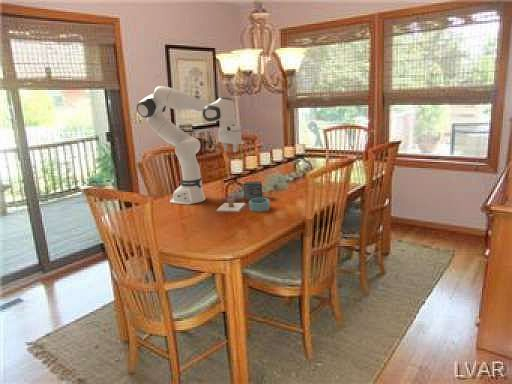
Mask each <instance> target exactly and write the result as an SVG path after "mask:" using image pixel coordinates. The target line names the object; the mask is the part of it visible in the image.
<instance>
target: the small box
mask: <svg viewBox="0 0 512 384" xmlns="http://www.w3.org/2000/svg"><path fill="white" fill-rule="evenodd" d="M243 189H244V201H250V200H251V199H254V198H264V197H263V185H262V181H261V180H260V181H245V182H244V183H243Z"/></svg>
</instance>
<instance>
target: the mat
mask: <svg viewBox="0 0 512 384" xmlns="http://www.w3.org/2000/svg"><path fill="white" fill-rule="evenodd" d="M247 205H248V203H245V205H244V206H243V207H242V209H241V210H240V211H239V212H237V211H217V209H216V210H215V211H214V212H217V213H241V211H242V210H243V209H245V207H247Z"/></svg>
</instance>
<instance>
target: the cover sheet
mask: <svg viewBox="0 0 512 384" xmlns="http://www.w3.org/2000/svg"><path fill="white" fill-rule="evenodd" d="M245 204H246V202H234V199H233V198H230V199H227V202H224V203H222V204H221V205H220V206H219V207H218V208H217V209H216V210H217V211H237V212H236V213H240V212H241V211H242V210H243V209H242V207H243V206H244V205H245ZM241 209H242V210H241ZM240 210H241V211H240ZM239 211H240V212H239Z"/></svg>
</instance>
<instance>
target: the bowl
mask: <svg viewBox="0 0 512 384" xmlns="http://www.w3.org/2000/svg"><path fill="white" fill-rule="evenodd" d="M270 208H271V201H270V198H267V197H262V198H254V199H251V200H248V209H249V211H252V212H257V213H258V212H260V213H261V212H266V211H267V212H268V211H269V210H270Z"/></svg>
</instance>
